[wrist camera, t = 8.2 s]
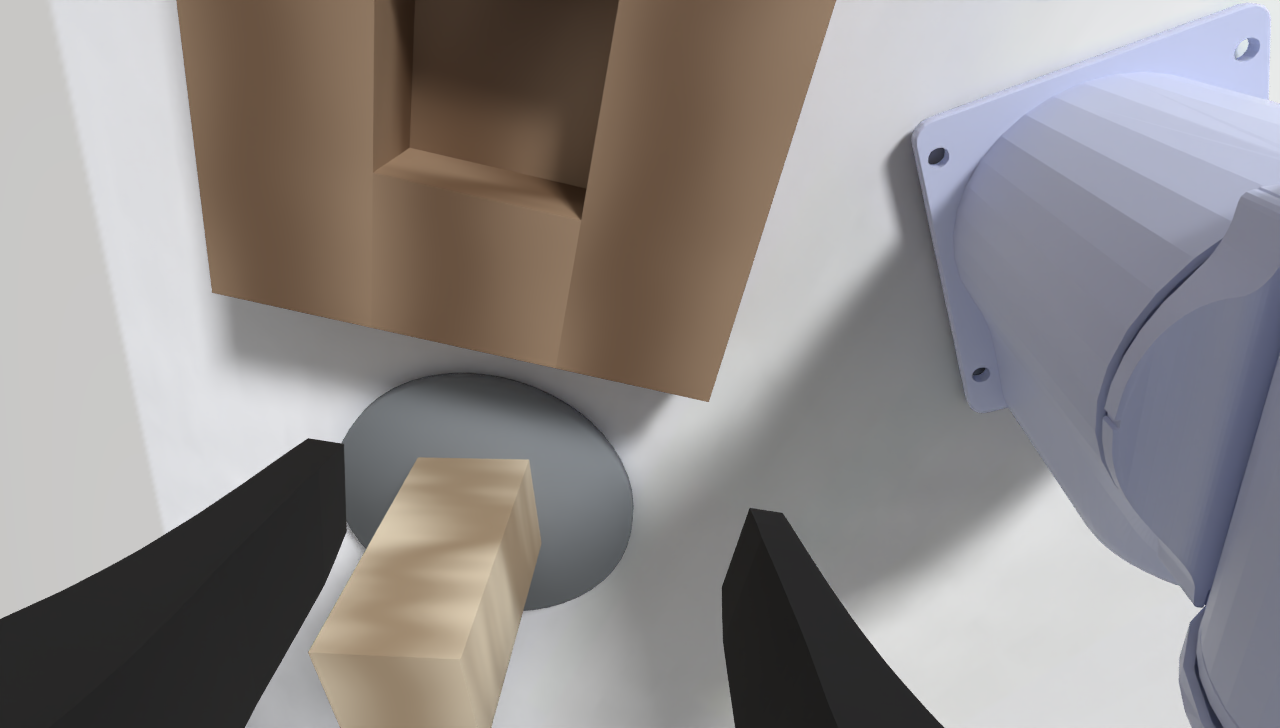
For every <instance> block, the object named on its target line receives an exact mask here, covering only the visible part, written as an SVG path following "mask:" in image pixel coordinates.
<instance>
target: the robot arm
mask: <svg viewBox="0 0 1280 728" xmlns="http://www.w3.org/2000/svg"><path fill="white" fill-rule="evenodd" d="M1270 32H1271V17H1270V12H1269V10H1268V9H1267V8H1266V7H1265V6H1264V5H1260V4H1255V3H1243V4H1237V5H1235V6H1232V7H1229V8H1226V9H1224V10H1221V11H1218V12H1216V13H1213V14H1210V15H1207V16H1205V17H1202V18H1199V19H1196V20H1194V21H1191V22H1188V23H1186V24H1183V25H1180V26H1177V27H1175V28H1172V29H1169V30H1166V31H1164V32H1161V33H1158V34H1155V35H1153V36H1150V37H1147V38H1145V39H1142V40H1139V41H1136V42H1134V43H1131V44H1128V45H1125V46H1123V47H1120V48H1117V49H1114V50H1112V51H1109V52H1106V53H1104V54H1101V55H1098V56H1095V57H1093V58H1090V59H1087V60H1084V61H1082V62H1079V63H1076V64H1073V65H1071V66H1068V67H1065V68H1063V69H1060V70H1057V71H1054V72H1052V73H1049V74H1046V75H1043V76H1041V77H1038V78H1035V79H1033V80H1030V81H1027V82H1024V83H1022V84H1019V85H1016V86H1013V87H1011V88H1008V89H1005V90H1002V91H1000V92H997V93H994V94H992V95H989V96H986V97H983V98H981V99H978V100H975V101H972V102H970V103H967V104H964V105H961V106H959V107H956V108H953V109H951V110H948V111H945V112H942V113H940V114H937V115H934V116H931V117H929V118H927V119H925V120H923V121H921V122H920V123H919V124H918V125H917V126H916V128H915V129H914V132H913V134H912V147H913V152H914V157H915V161H916V166H917V171H918V176H919V180H920V185H921V190H922V194H923V199H924V204H925V209H926V213H927V218H928V223H929V227H930V232H931V237H932V242H933V246H934V251H935V256H936V260H937V265H938V270H939V275H940V279H941V284H942V289H943V293H944V298H945V303H946V308H947V312H948V317H949V322H950V327H951V331H952V336H953V341H954V345H955V350H956V355H957V360H958V364H959V369H960V374H961V378H962V383H963V388H964V393H965V397H966V400H967V402H968V404H969V406H970V408H971V409H972V410H974V411H975V412H979V413H988V412H992V411H996V410H1000V409H1004V408H1007V407H1008V408H1009V409H1010V411H1011V412H1012V414H1013V415H1014V417H1015V418H1016V420H1017V421H1018V423H1019V424H1020V426H1021V428H1022V429H1023V431H1024V432H1025V434H1026V435H1027V437H1028V438H1029V440H1030V441H1031V443H1032V444H1033V446H1034V447H1035V449H1036V450H1037V452H1038V453H1039V455H1040V456H1041V458H1042V459H1043V461H1044V462H1045V464H1046V465H1047V467H1048V468H1049V470H1050V471H1051V473H1052V474H1053V476H1054V477H1055V479H1056V480H1057V482H1058V483H1059V485H1060V486H1061V488H1062V489H1063V491H1064V492H1065V494H1066V495H1067V497H1068V498H1069V500H1070V501H1071V503H1072V504H1073V506H1074V508H1075V509H1076V511H1077V512H1078V514H1079V515H1080V517H1081V518H1082V520H1083V521H1084V523H1085V524H1086V525H1087V527H1088V528H1089V529H1090V531H1091V532H1092V533H1093V534H1094V535H1095V536H1096V537H1097V539H1098V540H1099V541H1100V542H1101V543H1102V544H1104V545H1105V546H1106V547H1107V548H1108V549H1110V550H1111V551H1112V552H1113V553H1115V554H1116V555H1118V556H1119V557H1120V558H1122V559H1124V560H1125V561H1127V562H1128V563H1130V564H1132V565H1134V566H1136V567H1137V568H1139V569H1141V570H1143V571H1145V572H1147V573H1149V574H1151V575H1153V576H1156V577H1158V578H1160V579H1162V580H1165V581H1167V582H1170V583H1173V584H1175V585H1179V586H1180V587H1181V588H1182V590H1183V591H1184V592H1185V594H1186V595H1187V596H1188V598H1189V599H1190V600H1191V602H1192V603H1193V604H1194V605H1195V606H1196V607H1201V608H1202V607H1203V606H1204V604H1205V605H1206V606H1205V607H1204V608H1203V609H1202V610H1201V611H1200V612H1199V613H1198V614H1197V615H1196V616H1195V617H1194V619H1193V620H1192V621H1191V622H1190V624H1189V628H1188V631H1187V634H1186V638H1185V641H1184V644H1183V647H1182V651H1181V654H1180V657H1179V685H1180V690H1181V695H1182V700H1183V705H1184V709H1185V713H1186V715H1187V718H1188V720H1189V723H1190V725H1191V727H1192V728H1280V103H1277V102H1273V101H1269V70H1270ZM1245 39H1248V42H1249V45H1248V48H1247V50H1246V52H1245V53H1244V54H1243V55H1242V56H1241V57H1239V58H1237V59H1235V56H1234V53H1235V49H1236V47H1237V46H1238V45H1239V43H1240V42H1242V41H1243V40H1245ZM936 148H944V150H945V155H944V157H943V159H942V160H941V161H940V162H938V163H937V164H929V163H928V156H929V155H930V153H931V152H932V151H933V150H935V149H936ZM983 367H985V368H986V369H985V371H984V372H983V373H982V374H980V375H972V373H973V372H974V371H975V370H976V369H978V368H983ZM346 532H347V530H346V494H345V459H344V444H341V443H334V442H328V441H322V440H315V439H309V438H308V439H307V440H305V441H304V442H302V443H301V444H299V445H298V446H296V447H295V448H293V449H292V450H290V451H289V452H287V453H286V454H284V455H283V456H282V457H280V458H279V459H277V460H276V461H275V462H273V463H272V464H270V465H269V466H267V467H266V468H265V469H263V470H262V471H260V472H259V473H257V474H256V475H255V476H253V477H252V478H250V479H249V480H247V481H246V482H245V483H243V484H242V485H240V486H239V487H237V488H236V489H234V490H233V491H231V492H230V493H228V494H227V495H225V496H224V497H222V498H221V499H219V500H218V501H216V502H215V503H214V504H212V505H211V506H209V507H208V508H206V509H205V510H203V511H202V512H200V513H198V514H197V515H195V516H194V517H192V518H191V519H189V520H188V521H186V522H184V523H183V524H181V525H179V526H178V527H176V528H174V529H173V530H171V531H170V532H168V533H166V534H165V535H163V536H161V537H160V538H158V539H157V540H155V541H153V542H152V543H150V544H149V545H147V546H145V547H143V548H142V549H140V550H138V551H137V552H135V553H133V554H131V555H130V556H128V557H126V558H124V559H122V560H120V561H119V562H117V563H115V564H113V565H111V566H109V567H108V568H106V569H104V570H102V571H100V572H98V573H96V574H94V575H92V576H90V577H88V578H86V579H84V580H83V581H80V582H79V583H77V584H75V585H73V586H71V587H69V588H67V589H65V590H63V591H61V592H59V593H56V594H54V595H52V596H50V597H48V598H45V599H43V600H41V601H39V602H37V603H34V604H32V605H30V606H28V607H26V608H23V609H21V610H19V611H17V612H15V613H12V614H10V615H8V616H6V617H4V618H2V619H0V728H245V726H246V724H247V722H248V720H249V718H250V716H251V714H252V713H253V711H254V709H255V707H256V705H257V703H258V701H259V699H260V698H261V696H262V694H263V692H264V691H265V689H266V687H267V685H268V684H269V682H270V680H271V678H272V677H273V675H274V673H275V671H276V670H277V668H278V666H279V664H280V663H281V661H282V659H283V657H284V656H285V654H286V652H287V650H288V649H289V647H290V645H291V643H292V642H293V640H294V638H295V636H296V635H297V633H298V631H299V630H300V628H301V626H302V624H303V622H304V621H305V619H306V617H307V615H308V614H309V612H310V610H311V608H312V606H313V605H314V603H315V601H316V599H317V598H318V596H319V594H320V592H321V590H322V588H323V587H324V585H325V583H326V580H327V578H328V576H329V573H330V571H331V569H332V566H333V564H334V562H335V559H336V557H337V554H338V552H339V549H340V547H341V544H342V542H343V539H344V537H345V534H346ZM722 622H723V644H724V652H725V659H726V666H727V674H728V681H729V688H730V695H731V702H732V708H733V715H734V722H735V728H944V727H943V726H942V725H941V724H940V723H939V722H938V721H937V720H936V719H935V717H934V716H933V715H932V714H931V713H930V712H929V711H928V710H927V709H926V708H925V707H924V706H923V705H922V703H921V702H920V701H919V700H918V699H917V698H916V697H915V696H914V694H913V693H912V692H911V691H910V690H909V689H908V688H907V686H906V685H905V684H904V683H903V682H902V681H901V680H900V679H899V677H898V676H897V675H896V674H895V673H894V672H893V670H892V669H891V668H890V667H889V666H888V664H887V663H886V662H885V661H884V659H883V658H882V657H881V656H880V654H879V653H878V652H877V651H876V649H875V648H874V647H873V645H872V644H871V643H870V641H869V640H868V639H867V638H866V636H865V635H864V634H863V632H862V631H861V630H860V629H859V627H858V626H857V624H856V623H855V622H854V620H853V619H852V618H851V616H850V615H849V613H848V612H847V610H846V609H845V608H844V606H843V605H842V603H841V602H840V600H839V599H838V597H837V596H836V595H835V593H834V592H833V590H832V589H831V587H830V586H829V584H828V583H827V581H826V580H825V578H824V577H823V575H822V574H821V572H820V571H819V569H818V568H817V566H816V564H815V563H814V561H813V560H812V558H811V557H810V555H809V554H808V552H807V550H806V549H805V547H804V546H803V544H802V543H801V541H800V539H799V538H798V536H797V535H796V533H795V531H794V530H793V528H792V527H791V525H790V524H789V522H788V521H787V519H786V518H785V516H784V515H783V513H779V512H772V511H766V510H760V509H753V508H750V509H749V512H748V515H747V517H746V520H745V523H744V526H743V529H742V532H741V534H740V537H739V540H738V543H737V546H736V549H735V552H734V554H733V557H732V560H731V563H730V566H729V569H728V571H727V574H726V577H725V580H724V583H723V586H722Z"/></svg>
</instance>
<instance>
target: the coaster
mask: <svg viewBox="0 0 1280 728" xmlns="http://www.w3.org/2000/svg"><path fill="white" fill-rule="evenodd" d="M342 444H344V459H345V494H346V521H347V523H348V524H349V526H350V528H351V530H352V531H353V533H354V534H355V536H356V537H357V538H358V540H359V541H360V543H361V544H362V545H363V546H364V547H365V548H366V549H367V547H368V545H369V543H370V542H371V540H372V538H373V536H374V535H375V533H376V531H377V529H378V527H379V526H380V524H381V522H382V520H383V519H384V517H385V515H386V513H387V511H388V510H389V508H390V506H391V504H392V503H393V501H394V499H395V497H396V495H397V494H398V492H399V490H400V488H401V487H402V485H403V483H404V481H405V479H406V478H407V476H408V474H409V472H410V471H411V469H412V467H413V465H414V463H415V462H416V460H417V458H418V457H424V458H474V459H524V460H529V462H530V469H531V476H532V483H533V489H534V496H535V503H536V509H537V516H538V523H539V530H540V536H541V543H542V544H541V547H540V551H539V555H538V558H537V562H536V566H535V569H534V573H533V577H532V580H531V584H530V588H529V591H528V595H527V599H526V602H525V606H524V609H523V611H527V610H536V609H541V608H547V607H551V606H555V605H558V604H562V603H565V602H567V601H570V600H572V599H575V598H577V597H579V596H581V595H583V594H584V593H586V592H588V591H590V590H591V589H593V588H594V587H595V586H597V585H598V584H599V583H601V582H602V581H603V580H604V579H605V578H606V577H607V576H608V575H609V574H610V573H611V572H612V571H613V570H614V568H615V567H616V565H617V564H618V563H619V561H620V560H621V558H622V556H623V554H624V552H625V550H626V547H627V544H628V541H629V537H630V533H631V526H632V517H633V496H632V489H631V486H630V482H629V478H628V475H627V473H626V470H625V468H624V466H623V463H622V461H621V459H620V458H619V456H618V455H617V453H616V451H615V450H614V448H613V446H612V445H611V444H610V443H609V441H608V440H607V439H606V438H605V437H604V435H603V434H602V433H601V432H600V431H599V430H598V429H597V428H596V427H595V426H594V425H593V424H592V423H591V422H590V421H589V420H588V419H587V418H585V417H584V416H583V415H581V414H580V413H579V412H577V411H576V410H575V409H573V408H572V407H571V406H569V405H567V404H566V403H564V402H562V401H561V400H559V399H557V398H555V397H554V396H552V395H550V394H548V393H545V392H543V391H541V390H539V389H537V388H534V387H532V386H529V385H526V384H523V383H520V382H517V381H514V380H509V379H505V378H500V377H495V376H490V375H480V374H471V373H464V374H443V375H435V376H429V377H425V378H421V379H417V380H413V381H410V382H408V383H405V384H403V385H400V386H398V387H395V388H393V389H392V390H390V391H388V392H387V393H385V394H383V395H382V396H380V397H379V398H377V399H376V400H375V401H374V402H373V403H372V404H370V405H369V406H368V407H367V408H366V409H365V410H364V411H363V413H362V414H361V415H360V416H359V417H358V419H357V420H356V421H355V423H354V424H353V425H352V427H351V428H350V429H349V431H348V433H347V435H346V436H345V438H344V440H343V442H342Z"/></svg>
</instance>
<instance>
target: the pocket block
mask: <svg viewBox="0 0 1280 728" xmlns="http://www.w3.org/2000/svg"><path fill="white" fill-rule="evenodd" d="M176 1H177V9H178V17H179V25H180V33H181V42H182V50H183V58H184V66H185V74H186V82H187V91H188V99H189V107H190V115H191V123H192V131H193V140H194V148H195V156H196V164H197V172H198V180H199V189H200V197H201V205H202V213H203V221H204V229H205V238H206V246H207V254H208V262H209V270H210V278H211V287H212V293H216V294H221V295H225V296H230V297H234V298H239V299H243V300H248V301H253V302H257V303H262V304H266V305H271V306H275V307H280V308H284V309H289V310H293V311H298V312H302V313H307V314H312V315H316V316H321V317H325V318H330V319H334V320H339V321H343V322H348V323H352V324H357V325H361V326H366V327H371V328H375V329H380V330H384V331H389V332H393V333H398V334H402V335H407V336H411V337H416V338H420V339H425V340H430V341H434V342H439V343H443V344H448V345H452V346H457V347H461V348H466V349H470V350H475V351H479V352H484V353H489V354H493V355H498V356H502V357H507V358H511V359H516V360H520V361H525V362H529V363H534V364H539V365H543V366H548V367H552V368H557V369H561V370H566V371H570V372H575V373H579V374H584V375H588V376H593V377H598V378H602V379H607V380H611V381H616V382H620V383H625V384H629V385H634V386H638V387H643V388H647V389H652V390H657V391H661V392H666V393H670V394H675V395H679V396H684V397H688V398H693V399H697V400H702V401H706V402H709V400H710V396H711V393H712V390H713V387H714V384H715V381H716V377H717V374H718V371H719V368H720V365H721V362H722V359H723V355H724V352H725V349H726V346H727V343H728V340H729V337H730V333H731V330H732V327H733V324H734V321H735V318H736V314H737V311H738V308H739V305H740V302H741V299H742V296H743V292H744V289H745V286H746V283H747V280H748V277H749V273H750V270H751V267H752V264H753V261H754V258H755V255H756V251H757V248H758V245H759V242H760V239H761V236H762V232H763V229H764V226H765V223H766V220H767V217H768V214H769V210H770V207H771V204H772V201H773V198H774V195H775V191H776V188H777V185H778V182H779V179H780V176H781V173H782V169H783V166H784V163H785V160H786V157H787V154H788V150H789V147H790V144H791V141H792V138H793V135H794V132H795V128H796V125H797V122H798V119H799V116H800V113H801V110H802V106H803V103H804V100H805V97H806V94H807V91H808V87H809V84H810V81H811V78H812V75H813V72H814V69H815V65H816V62H817V59H818V56H819V53H820V50H821V46H822V43H823V40H824V37H825V34H826V31H827V28H828V24H829V21H830V18H831V15H832V12H833V9H834V5H835V2H836V0H176Z"/></svg>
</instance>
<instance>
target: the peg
mask: <svg viewBox="0 0 1280 728" xmlns="http://www.w3.org/2000/svg"><path fill="white" fill-rule="evenodd" d="M541 544H542V543H541V536H540V530H539V523H538V516H537V509H536V503H535V496H534V489H533V483H532V476H531V469H530V462H529V460H524V459H474V458H424V457H418V458H417V460H416V462H415V463H414V465H413V467H412V469H411V471H410V472H409V474H408V476H407V478H406V479H405V481H404V483H403V485H402V487H401V488H400V490H399V492H398V494H397V495H396V497H395V499H394V501H393V503H392V504H391V506H390V508H389V510H388V511H387V513H386V515H385V517H384V519H383V520H382V522H381V524H380V526H379V527H378V529H377V531H376V533H375V535H374V536H373V538H372V540H371V542H370V543H369V545H368V547H367V549H366V551H365V552H364V554H363V556H362V558H361V559H360V561H359V563H358V565H357V567H356V568H355V570H354V572H353V574H352V575H351V577H350V579H349V581H348V583H347V584H346V586H345V588H344V590H343V591H342V593H341V595H340V597H339V599H338V600H337V602H336V604H335V606H334V607H333V609H332V611H331V613H330V615H329V616H328V618H327V620H326V622H325V623H324V625H323V627H322V629H321V630H320V632H319V634H318V636H317V638H316V639H315V641H314V643H313V645H312V646H311V648H310V650H309V652H308V653H309V656H310V658H311V660H312V663H313V665H314V667H315V670H316V672H317V674H318V677H319V679H320V681H321V684H322V686H323V688H324V691H325V693H326V696H327V698H328V700H329V703H330V705H331V707H332V710H333V712H334V714H335V717H336V719H337V721H338V724H339V726H340V728H491V726H492V723H493V719H494V715H495V712H496V708H497V705H498V701H499V697H500V694H501V690H502V686H503V683H504V679H505V675H506V672H507V668H508V664H509V661H510V657H511V653H512V650H513V646H514V642H515V639H516V635H517V631H518V628H519V624H520V620H521V617H522V613H523V609H524V606H525V602H526V599H527V595H528V591H529V588H530V584H531V580H532V577H533V573H534V569H535V566H536V562H537V558H538V555H539V551H540V547H541Z"/></svg>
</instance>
